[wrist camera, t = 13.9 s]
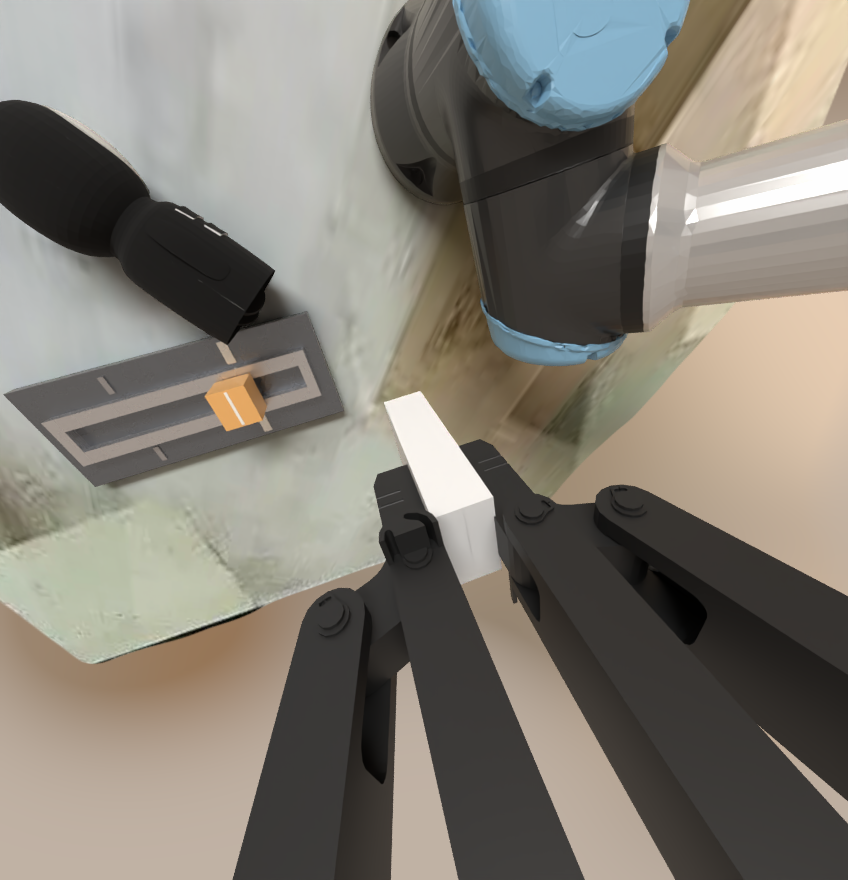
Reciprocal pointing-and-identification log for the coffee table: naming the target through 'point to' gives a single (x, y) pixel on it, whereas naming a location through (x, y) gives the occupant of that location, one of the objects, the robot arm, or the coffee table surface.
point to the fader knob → (237, 402)
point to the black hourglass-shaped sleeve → (124, 220)
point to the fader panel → (179, 399)
